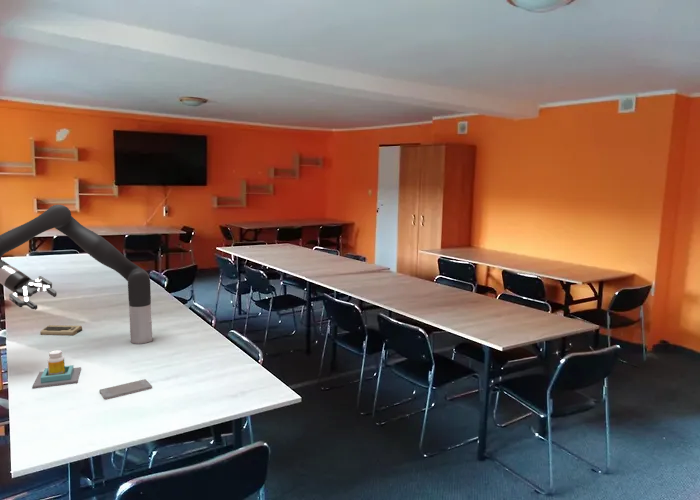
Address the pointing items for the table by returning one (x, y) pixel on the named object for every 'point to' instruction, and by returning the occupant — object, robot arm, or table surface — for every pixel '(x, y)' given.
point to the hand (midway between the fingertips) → (46, 301)
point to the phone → (125, 389)
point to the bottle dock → (57, 377)
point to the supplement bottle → (56, 363)
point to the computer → (61, 330)
